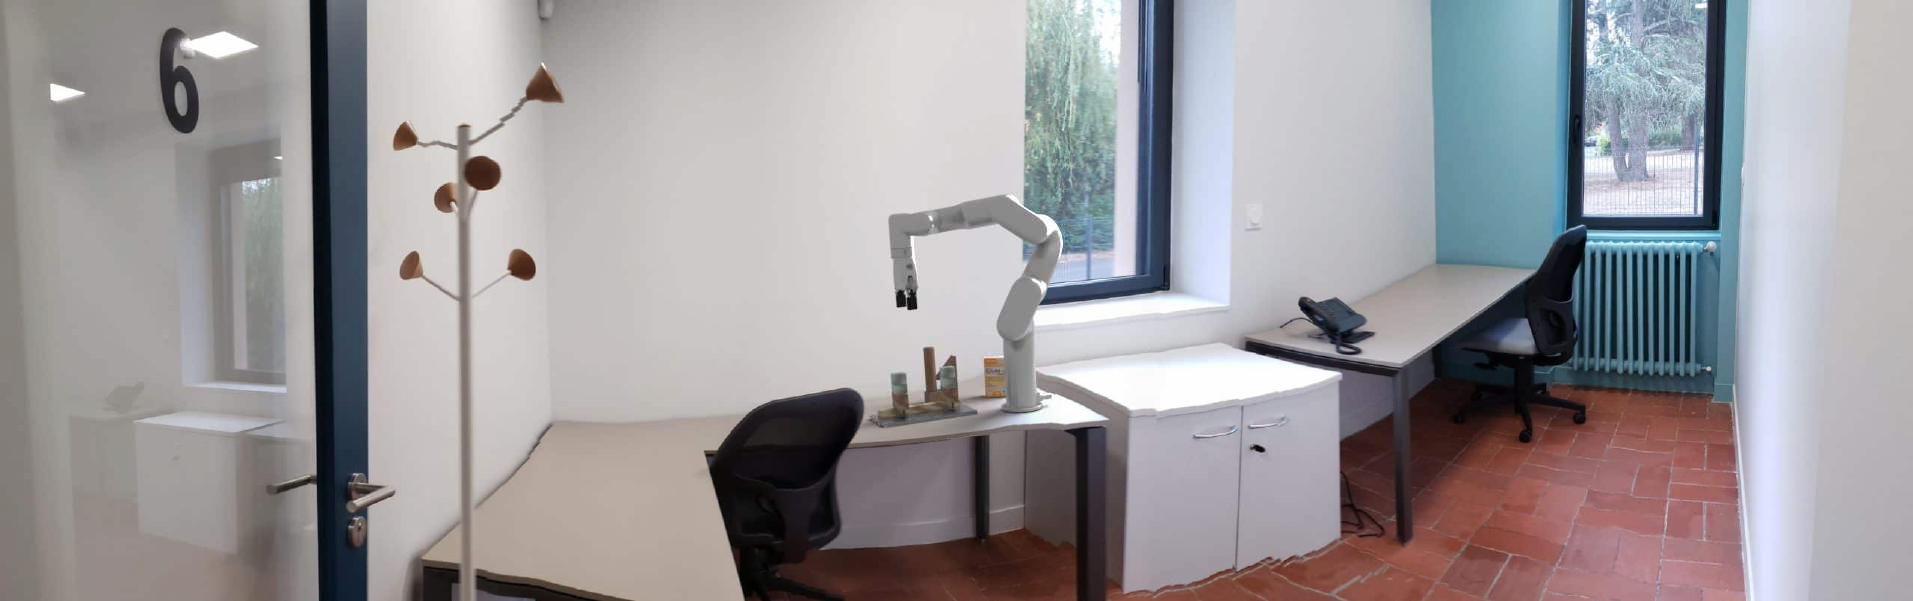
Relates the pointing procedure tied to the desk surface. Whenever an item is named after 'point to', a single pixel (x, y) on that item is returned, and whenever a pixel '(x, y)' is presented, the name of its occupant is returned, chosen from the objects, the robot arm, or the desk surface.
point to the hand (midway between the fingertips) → (906, 308)
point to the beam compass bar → (947, 401)
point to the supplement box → (994, 376)
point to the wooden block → (930, 375)
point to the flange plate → (924, 416)
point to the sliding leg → (899, 391)
